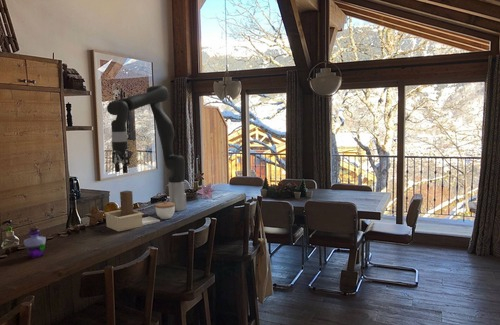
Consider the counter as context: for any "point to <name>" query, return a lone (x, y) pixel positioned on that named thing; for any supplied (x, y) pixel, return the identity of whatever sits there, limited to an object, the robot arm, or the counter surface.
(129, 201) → the wooden block
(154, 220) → the grey tile
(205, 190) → the lily
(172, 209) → the lidded jar
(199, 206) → the counter surface
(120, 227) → the carton
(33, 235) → the potion bottle
